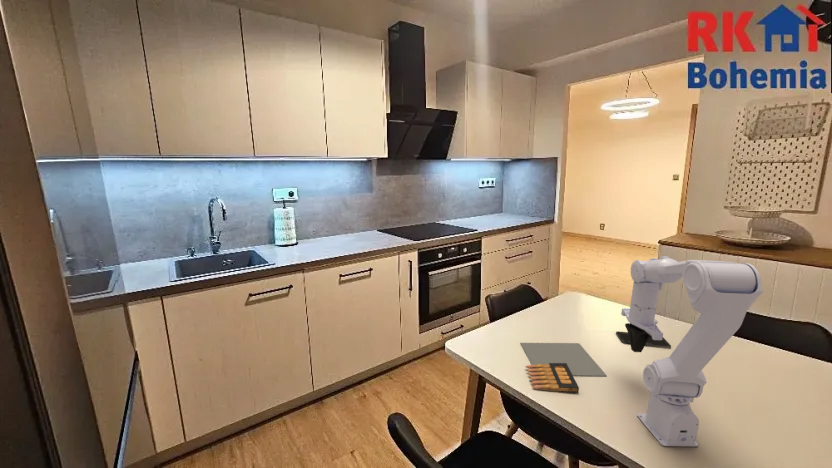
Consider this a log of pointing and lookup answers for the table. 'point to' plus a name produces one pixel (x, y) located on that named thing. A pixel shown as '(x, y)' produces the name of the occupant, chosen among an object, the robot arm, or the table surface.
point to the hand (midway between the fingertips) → (636, 350)
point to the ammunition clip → (553, 377)
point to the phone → (650, 343)
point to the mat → (563, 357)
